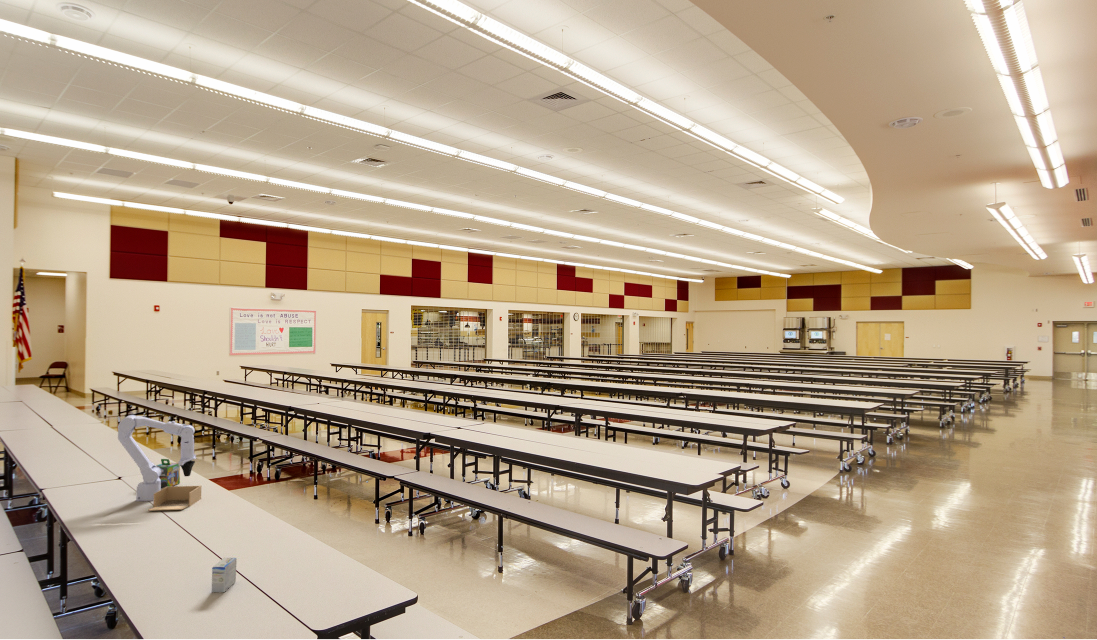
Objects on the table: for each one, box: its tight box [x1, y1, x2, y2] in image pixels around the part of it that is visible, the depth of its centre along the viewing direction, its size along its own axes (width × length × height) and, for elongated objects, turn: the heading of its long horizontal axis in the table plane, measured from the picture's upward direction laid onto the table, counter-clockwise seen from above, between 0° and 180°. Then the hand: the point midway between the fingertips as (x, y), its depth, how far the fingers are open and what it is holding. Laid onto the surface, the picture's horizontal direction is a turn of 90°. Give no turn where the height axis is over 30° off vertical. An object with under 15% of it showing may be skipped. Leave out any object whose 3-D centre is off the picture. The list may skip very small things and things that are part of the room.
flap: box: [148, 505, 188, 511], centre depth 264 cm, size 14×1×6 cm
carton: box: [152, 485, 202, 508], centre depth 273 cm, size 16×12×7 cm
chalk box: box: [155, 458, 181, 489], centre depth 303 cm, size 9×9×15 cm
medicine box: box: [211, 557, 237, 593], centre depth 190 cm, size 8×4×9 cm, turn 5°
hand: (187, 475), depth 286 cm, fingers closed
